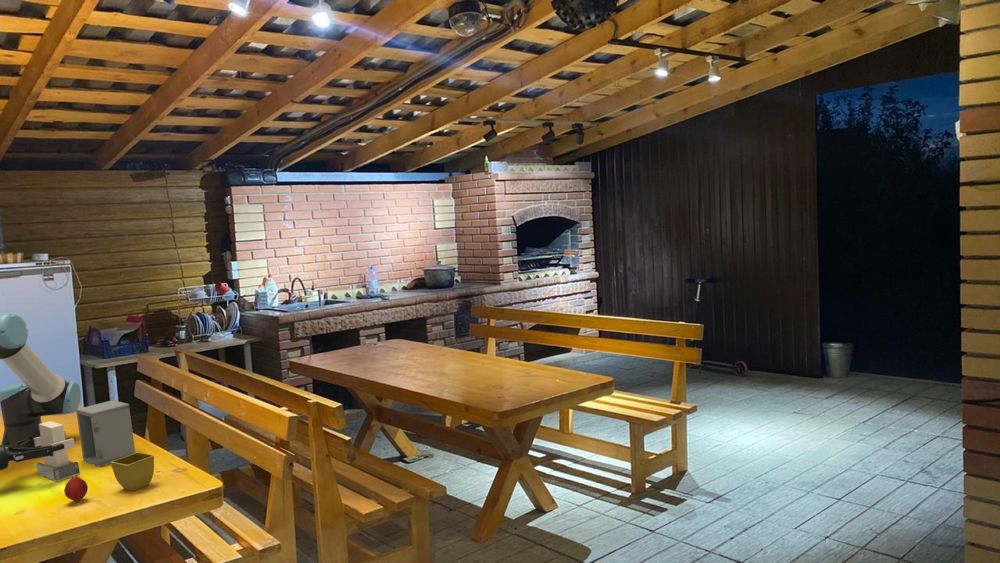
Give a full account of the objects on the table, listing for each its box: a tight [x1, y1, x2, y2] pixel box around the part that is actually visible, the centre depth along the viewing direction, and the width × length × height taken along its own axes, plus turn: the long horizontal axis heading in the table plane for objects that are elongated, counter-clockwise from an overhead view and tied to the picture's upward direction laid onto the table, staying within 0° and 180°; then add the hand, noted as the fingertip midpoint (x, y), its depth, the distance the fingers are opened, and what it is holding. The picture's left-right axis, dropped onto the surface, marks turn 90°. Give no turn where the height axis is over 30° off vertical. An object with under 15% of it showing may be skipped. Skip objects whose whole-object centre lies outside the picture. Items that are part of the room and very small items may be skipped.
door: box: [39, 420, 70, 468], centre depth 240 cm, size 10×4×16 cm, turn 51°
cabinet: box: [75, 400, 136, 468], centre depth 251 cm, size 13×12×18 cm
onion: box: [64, 475, 89, 503], centre depth 214 cm, size 6×6×8 cm
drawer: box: [35, 459, 81, 483], centre depth 240 cm, size 15×7×4 cm, turn 51°
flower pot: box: [110, 451, 155, 492], centre depth 222 cm, size 9×9×9 cm
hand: (65, 439), depth 242 cm, fingers open, 13 cm apart
